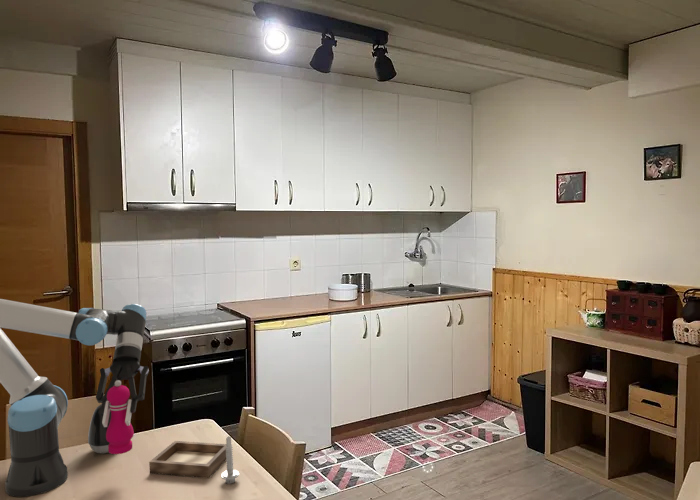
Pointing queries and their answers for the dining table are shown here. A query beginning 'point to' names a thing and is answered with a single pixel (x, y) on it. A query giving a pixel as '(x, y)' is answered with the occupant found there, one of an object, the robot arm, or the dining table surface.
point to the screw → (229, 464)
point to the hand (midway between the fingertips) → (116, 424)
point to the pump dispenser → (98, 432)
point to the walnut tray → (189, 459)
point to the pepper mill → (119, 420)
